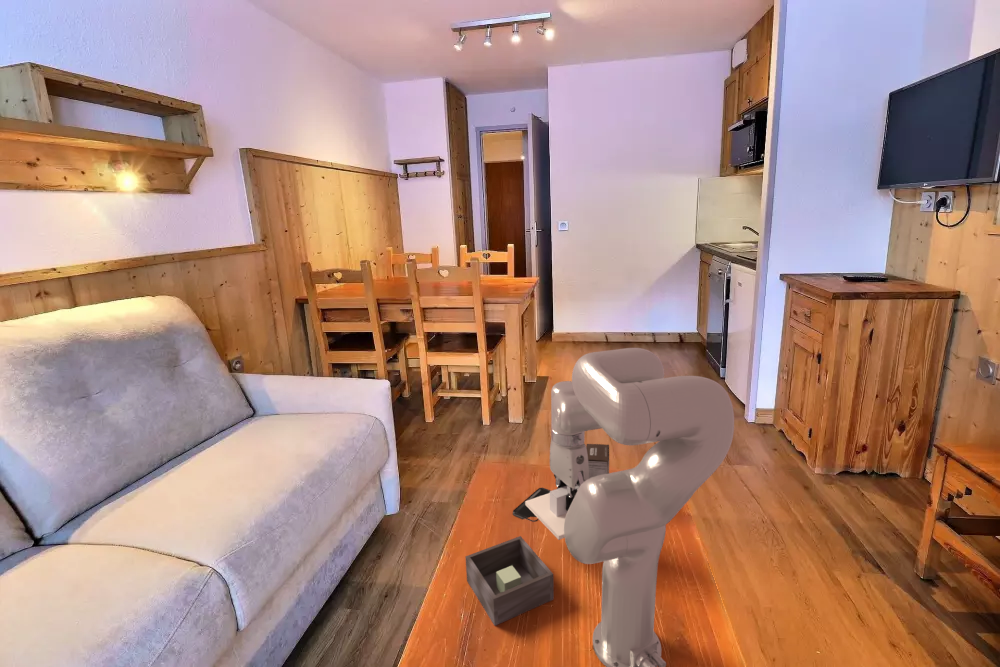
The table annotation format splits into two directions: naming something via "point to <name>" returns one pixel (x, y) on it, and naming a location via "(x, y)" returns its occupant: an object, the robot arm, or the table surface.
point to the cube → (507, 578)
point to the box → (519, 598)
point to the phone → (523, 510)
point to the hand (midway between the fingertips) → (567, 504)
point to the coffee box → (598, 459)
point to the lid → (551, 510)
